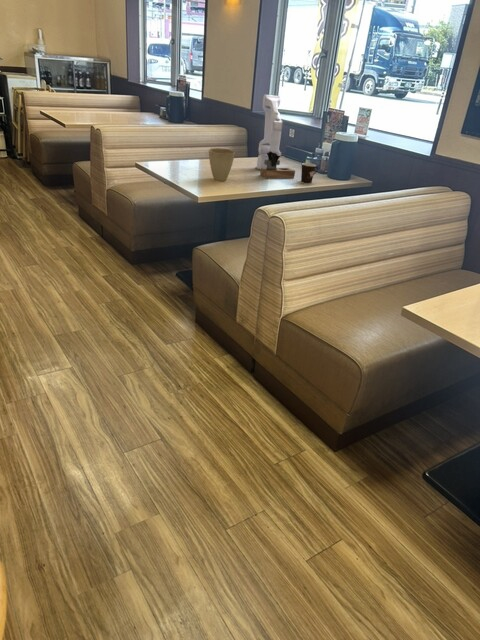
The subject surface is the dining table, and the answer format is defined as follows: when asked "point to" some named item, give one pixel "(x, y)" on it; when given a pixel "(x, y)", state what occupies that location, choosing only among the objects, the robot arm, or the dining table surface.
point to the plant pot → (221, 162)
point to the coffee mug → (308, 172)
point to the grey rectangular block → (269, 164)
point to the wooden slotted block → (278, 173)
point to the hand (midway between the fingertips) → (272, 165)
